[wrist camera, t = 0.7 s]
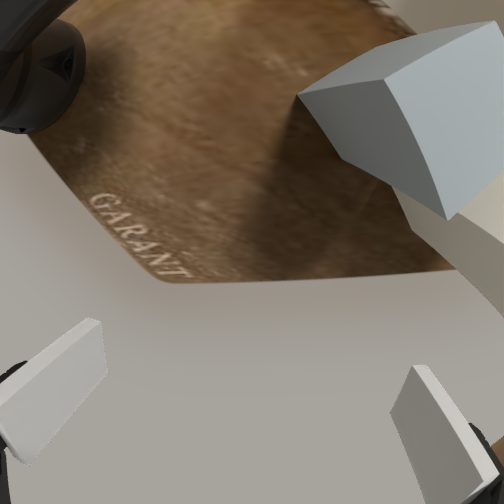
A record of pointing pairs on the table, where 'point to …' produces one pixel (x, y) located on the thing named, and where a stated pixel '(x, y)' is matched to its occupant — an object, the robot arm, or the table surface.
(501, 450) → the brown wooden beam
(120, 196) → the table surface
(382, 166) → the tall pale gray pillar
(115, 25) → the table surface
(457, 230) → the tall cream rectangular block
